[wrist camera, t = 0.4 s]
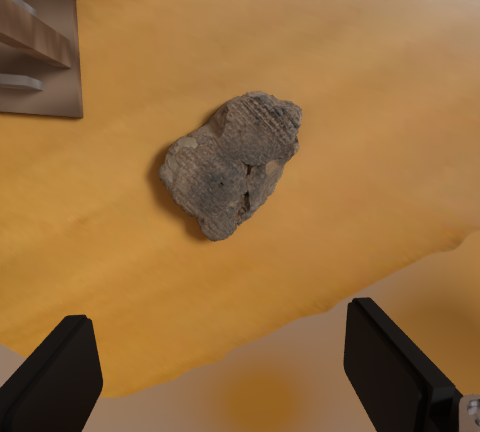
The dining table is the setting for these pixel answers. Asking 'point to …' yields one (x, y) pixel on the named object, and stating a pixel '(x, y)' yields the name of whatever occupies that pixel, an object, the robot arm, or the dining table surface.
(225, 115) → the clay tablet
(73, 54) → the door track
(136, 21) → the dining table surface
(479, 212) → the dining table surface
